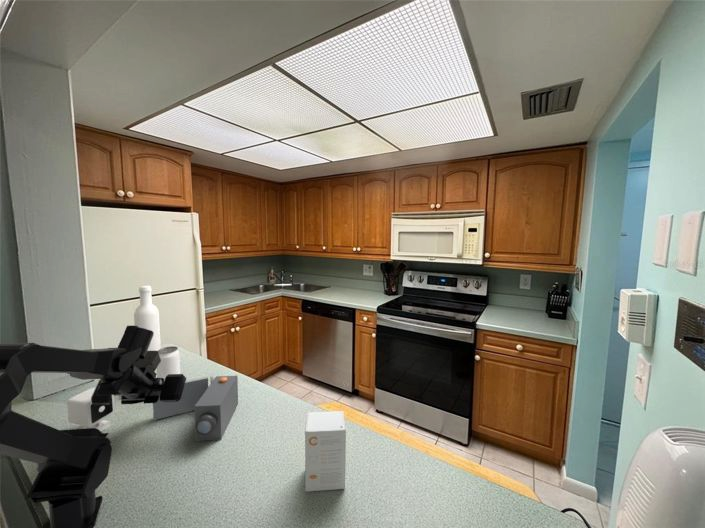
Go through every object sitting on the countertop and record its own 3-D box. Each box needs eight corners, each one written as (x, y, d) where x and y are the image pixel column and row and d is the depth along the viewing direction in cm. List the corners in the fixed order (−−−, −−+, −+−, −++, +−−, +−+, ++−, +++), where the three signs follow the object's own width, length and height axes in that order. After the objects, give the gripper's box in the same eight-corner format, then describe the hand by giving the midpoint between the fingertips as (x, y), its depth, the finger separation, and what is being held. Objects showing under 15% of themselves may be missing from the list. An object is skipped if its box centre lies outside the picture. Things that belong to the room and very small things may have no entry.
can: (159, 381, 96) (158, 347, 95) (181, 377, 99) (180, 344, 98) (155, 391, 90) (153, 355, 89) (179, 386, 93) (177, 351, 92)
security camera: (90, 442, 68) (86, 403, 67) (67, 437, 70) (63, 399, 68) (116, 425, 74) (114, 389, 73) (95, 421, 76) (92, 385, 75)
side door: (208, 403, 84) (207, 375, 83) (209, 406, 83) (208, 378, 82) (154, 416, 78) (152, 386, 77) (153, 420, 76) (152, 389, 75)
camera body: (218, 446, 68) (216, 407, 67) (184, 448, 67) (182, 409, 66) (238, 403, 85) (237, 372, 84) (212, 404, 84) (211, 372, 83)
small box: (343, 464, 63) (344, 410, 62) (345, 490, 57) (346, 429, 56) (306, 466, 63) (306, 411, 61) (304, 492, 56) (304, 431, 55)
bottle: (159, 356, 115) (155, 283, 112) (164, 362, 110) (160, 286, 107) (134, 362, 109) (129, 286, 106) (138, 369, 104) (133, 289, 101)
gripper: (183, 344, 70) (199, 367, 82) (98, 345, 67) (127, 368, 79) (168, 392, 63) (188, 409, 75) (72, 395, 60) (109, 412, 72)
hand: (153, 398), depth 76 cm, fingers closed, pressing on side door
